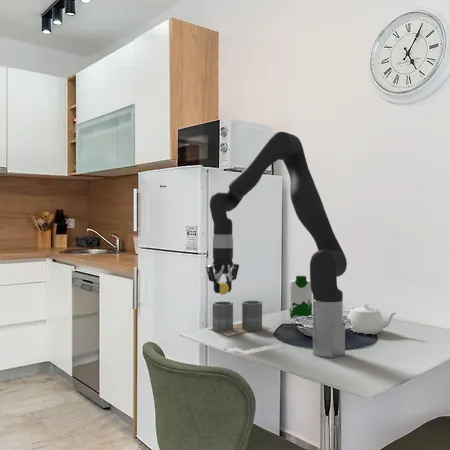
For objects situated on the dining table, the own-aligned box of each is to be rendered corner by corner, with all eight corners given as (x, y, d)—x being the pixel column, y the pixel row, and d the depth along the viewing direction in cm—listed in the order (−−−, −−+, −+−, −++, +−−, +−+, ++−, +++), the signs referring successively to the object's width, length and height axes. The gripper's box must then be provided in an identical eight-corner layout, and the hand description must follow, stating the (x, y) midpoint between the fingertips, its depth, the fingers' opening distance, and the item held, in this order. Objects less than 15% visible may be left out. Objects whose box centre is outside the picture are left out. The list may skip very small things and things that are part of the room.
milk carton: (289, 328, 184) (290, 276, 184) (289, 322, 193) (289, 273, 193) (312, 328, 183) (313, 277, 183) (310, 323, 192) (311, 274, 192)
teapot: (333, 332, 178) (333, 303, 178) (343, 325, 190) (343, 298, 189) (393, 340, 167) (394, 309, 166) (401, 332, 178) (401, 303, 178)
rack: (271, 331, 179) (271, 302, 178) (228, 340, 167) (228, 308, 167) (249, 325, 189) (249, 297, 189) (208, 332, 177) (208, 302, 177)
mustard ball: (231, 294, 176) (231, 282, 176) (221, 296, 173) (221, 283, 173) (224, 293, 179) (224, 281, 179) (214, 294, 177) (214, 282, 177)
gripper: (212, 247, 168) (212, 295, 169) (244, 246, 177) (244, 291, 177) (201, 246, 174) (201, 292, 175) (232, 245, 183) (232, 289, 183)
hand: (222, 292), depth 176 cm, fingers closed on mustard ball, 4 cm apart
